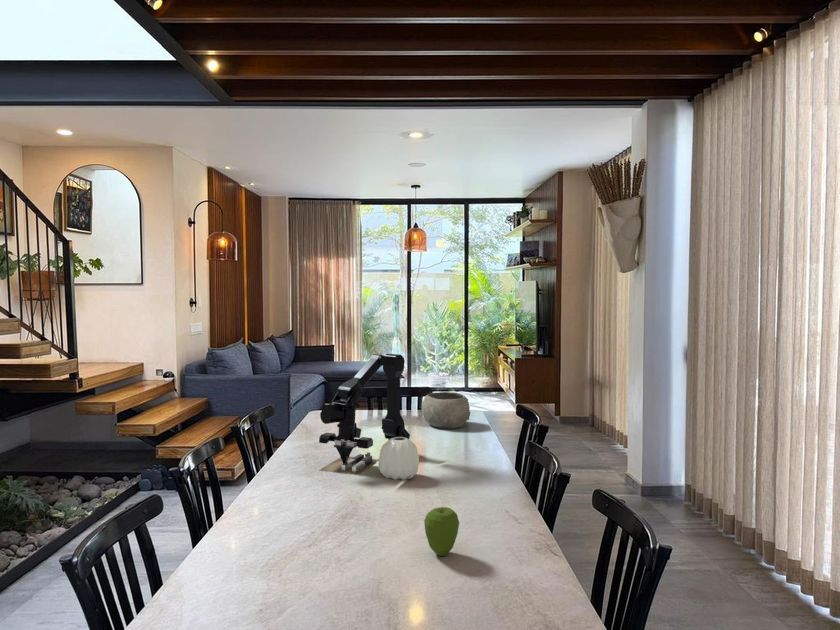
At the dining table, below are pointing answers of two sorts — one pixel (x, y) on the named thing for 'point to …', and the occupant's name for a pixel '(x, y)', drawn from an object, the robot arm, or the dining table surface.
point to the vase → (399, 459)
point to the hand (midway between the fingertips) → (344, 464)
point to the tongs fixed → (362, 463)
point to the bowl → (446, 409)
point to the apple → (441, 529)
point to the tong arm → (352, 462)
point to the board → (337, 467)
